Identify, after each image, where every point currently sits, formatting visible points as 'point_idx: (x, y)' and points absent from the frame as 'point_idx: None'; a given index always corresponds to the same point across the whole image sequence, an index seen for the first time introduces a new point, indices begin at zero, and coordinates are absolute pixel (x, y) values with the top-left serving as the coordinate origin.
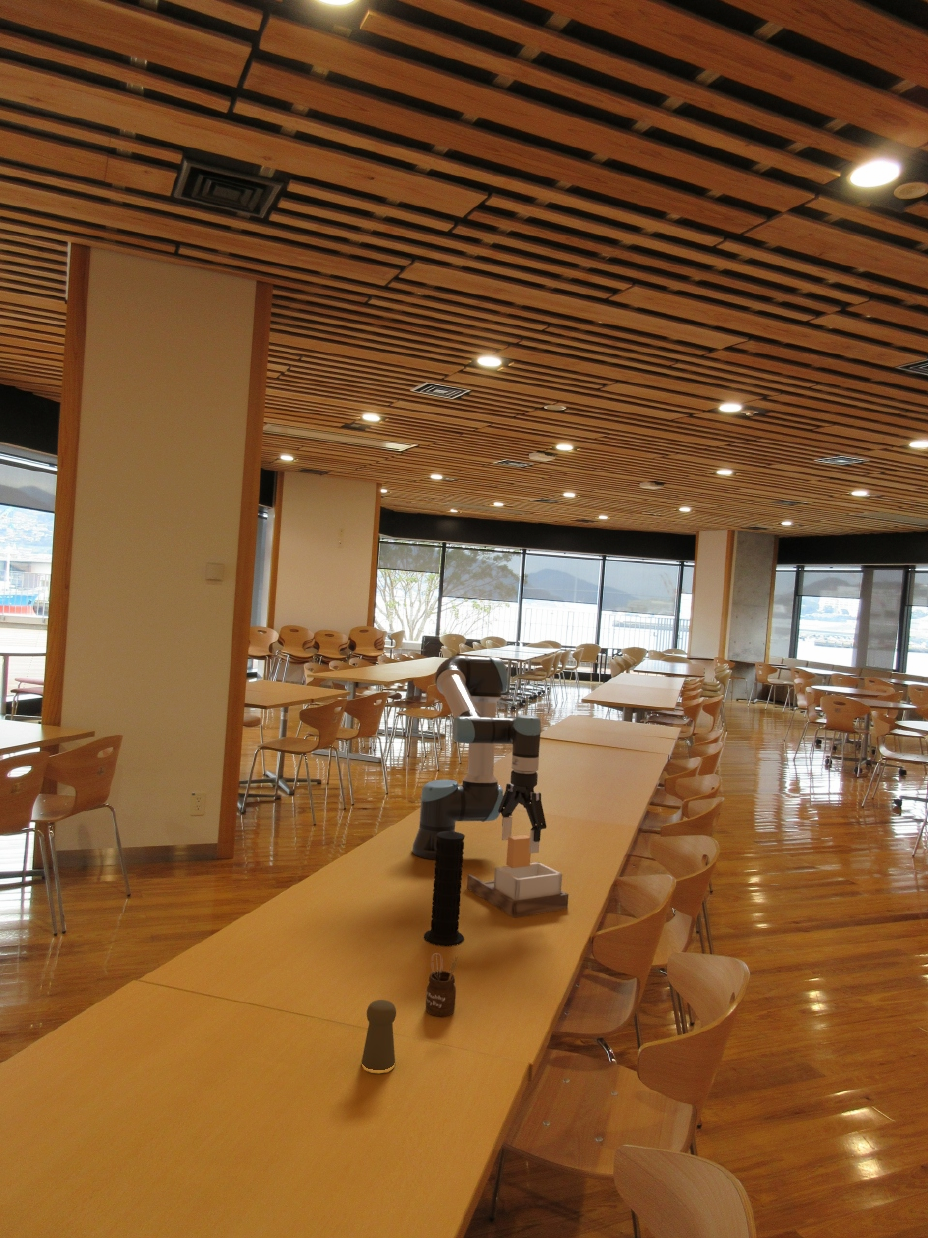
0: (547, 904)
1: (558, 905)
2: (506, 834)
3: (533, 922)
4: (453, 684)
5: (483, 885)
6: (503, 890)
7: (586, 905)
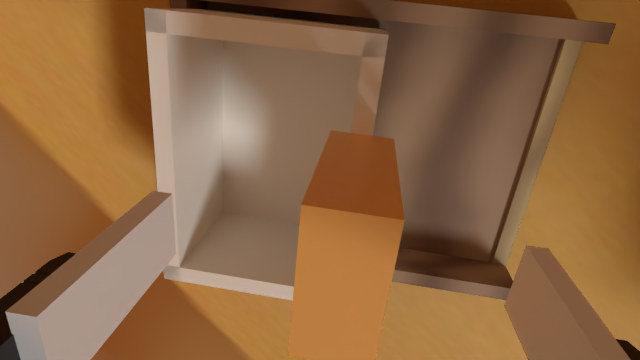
0: None
1: None
2: (534, 299)
3: (136, 26)
4: None
5: (444, 6)
6: (297, 20)
7: (209, 288)
